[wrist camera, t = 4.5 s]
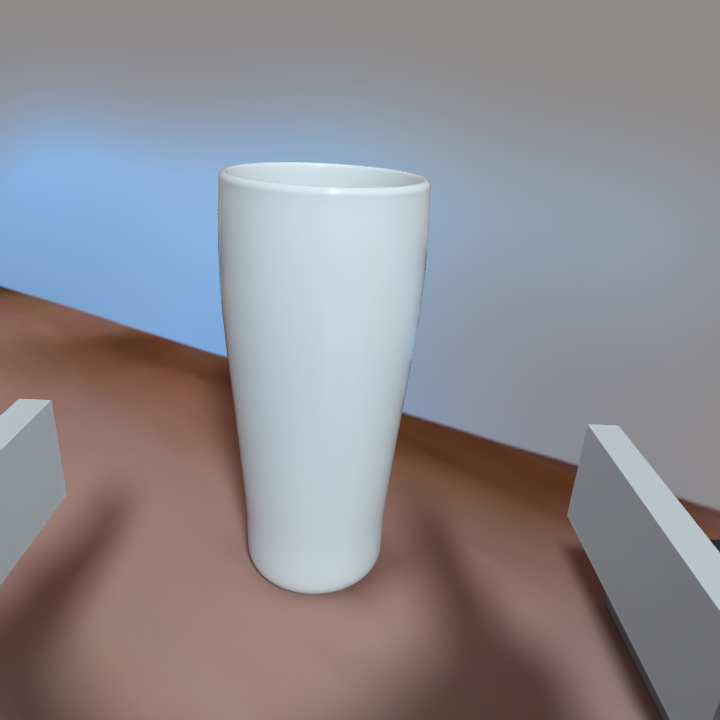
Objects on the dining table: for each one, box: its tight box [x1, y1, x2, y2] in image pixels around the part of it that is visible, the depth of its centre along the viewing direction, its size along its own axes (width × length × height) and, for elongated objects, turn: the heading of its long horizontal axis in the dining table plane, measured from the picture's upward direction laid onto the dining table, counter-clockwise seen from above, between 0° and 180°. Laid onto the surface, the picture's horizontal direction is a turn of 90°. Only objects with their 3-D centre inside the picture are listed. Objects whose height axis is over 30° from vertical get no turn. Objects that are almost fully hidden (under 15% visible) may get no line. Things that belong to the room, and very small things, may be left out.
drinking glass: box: [218, 162, 431, 594], centre depth 22 cm, size 7×7×15 cm
